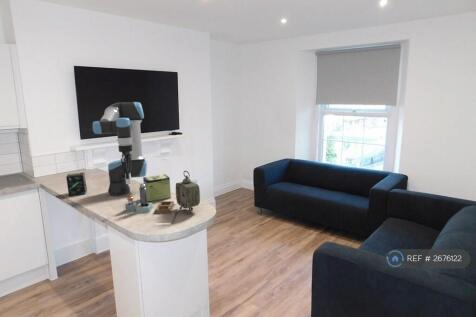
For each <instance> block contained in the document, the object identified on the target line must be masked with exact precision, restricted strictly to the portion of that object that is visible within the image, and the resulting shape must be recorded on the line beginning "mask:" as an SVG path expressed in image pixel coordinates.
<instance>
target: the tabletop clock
mask: <svg viewBox="0 0 476 317" xmlns="http://www.w3.org/2000/svg"><path fill="white" fill-rule="evenodd" d="M183 173H187V174H188V175H185V174H183V176H184V178H183V179H182V181H181V182H179V181H178V182H176V183H175V199H176V204H177V205H179V210H182V209H188V211H187V215H191V211H193V210H194V207H197V206H199V204H201V203H200V201H201V193H200V186H199V184H197V183H196V182H194V181H192V180H191V178H190V172H189V171H187V170H184V171H183Z"/></svg>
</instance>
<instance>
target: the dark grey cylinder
mask: <svg viewBox="0 0 476 317" xmlns="http://www.w3.org/2000/svg"><path fill="white" fill-rule="evenodd" d="M138 190H139V200H140V201H139V203H141V207H148V203H149V202H148V201H147V191H146V187H145V184H144V183H140V184H139V188H138Z"/></svg>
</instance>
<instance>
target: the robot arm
mask: <svg viewBox="0 0 476 317" xmlns="http://www.w3.org/2000/svg"><path fill="white" fill-rule="evenodd" d="M103 113H104V114H103V115H102V116H101V119H100V120H97V121H93V122H92V132H93V133H94V134H95V135H96V134H97V135H105V134H107V135H108V134H116V135H117V139H116V141H117V144H118V146H117V148H118V152H119V153H121V158H120V159H117V160H114V161H111V162H109V163H108V165H107V168H108V169H107V171H108V177H109V186H108V189H107V193H108V196H109V195H110V196H123V195H126V194H129V193H131V187H130V185H132V179H133V178H143V177H147V172H148V170H147V169H148V161H147V160H145V159H146V158H145V157H144V156H143V148H142V147H143V146H142V136H141V135H142V134H141V133H142V132H141V123H142V122H143V119H144V118H145V116H144V115H145V113H144V110H143V106H142V104H141V102H140V101H139V102H138V101H128V102H125V101H124V102H115V103H113V104H110V105H109V106H108V107H106V108H105V109H104V112H103Z"/></svg>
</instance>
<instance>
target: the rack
mask: <svg viewBox="0 0 476 317" xmlns="http://www.w3.org/2000/svg"><path fill="white" fill-rule="evenodd" d="M174 202H175V201H174V200H169V201H160V202H159V203H158V204H157V206H156V207H155V209H154V212H153V215H159V214H160V215H162V214H163V215H164V214H167V215H168V214H171V213H172V212H173V209H174V207H175V206H176V204H175V203H174Z"/></svg>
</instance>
